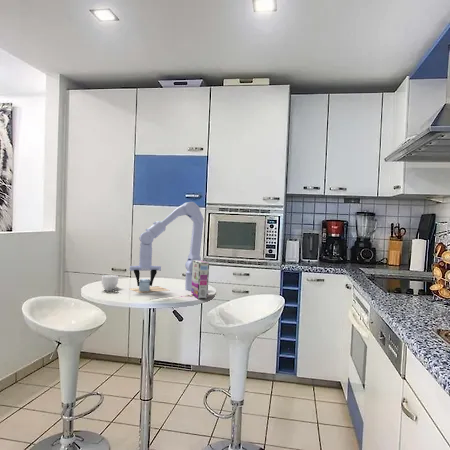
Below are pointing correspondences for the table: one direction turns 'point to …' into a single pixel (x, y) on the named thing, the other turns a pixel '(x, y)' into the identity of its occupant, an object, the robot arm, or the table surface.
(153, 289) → the post board
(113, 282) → the cup
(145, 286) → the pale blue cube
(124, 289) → the table surface
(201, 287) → the candy bar box
